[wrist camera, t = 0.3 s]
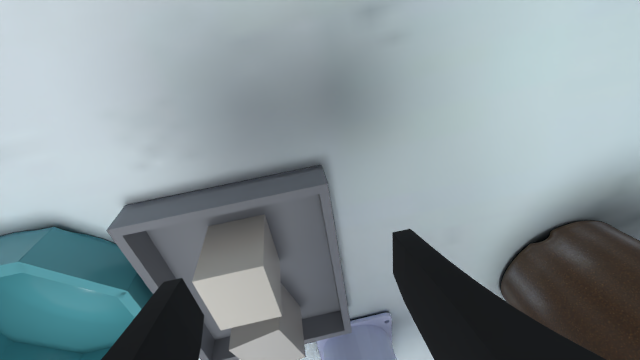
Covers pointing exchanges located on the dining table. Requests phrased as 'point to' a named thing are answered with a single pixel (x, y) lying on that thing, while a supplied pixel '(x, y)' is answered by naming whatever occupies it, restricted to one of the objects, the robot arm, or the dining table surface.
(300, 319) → the light gray cube block
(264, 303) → the white rectangular block
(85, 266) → the bowl
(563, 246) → the plant pot
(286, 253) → the parts tray
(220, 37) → the dining table surface
